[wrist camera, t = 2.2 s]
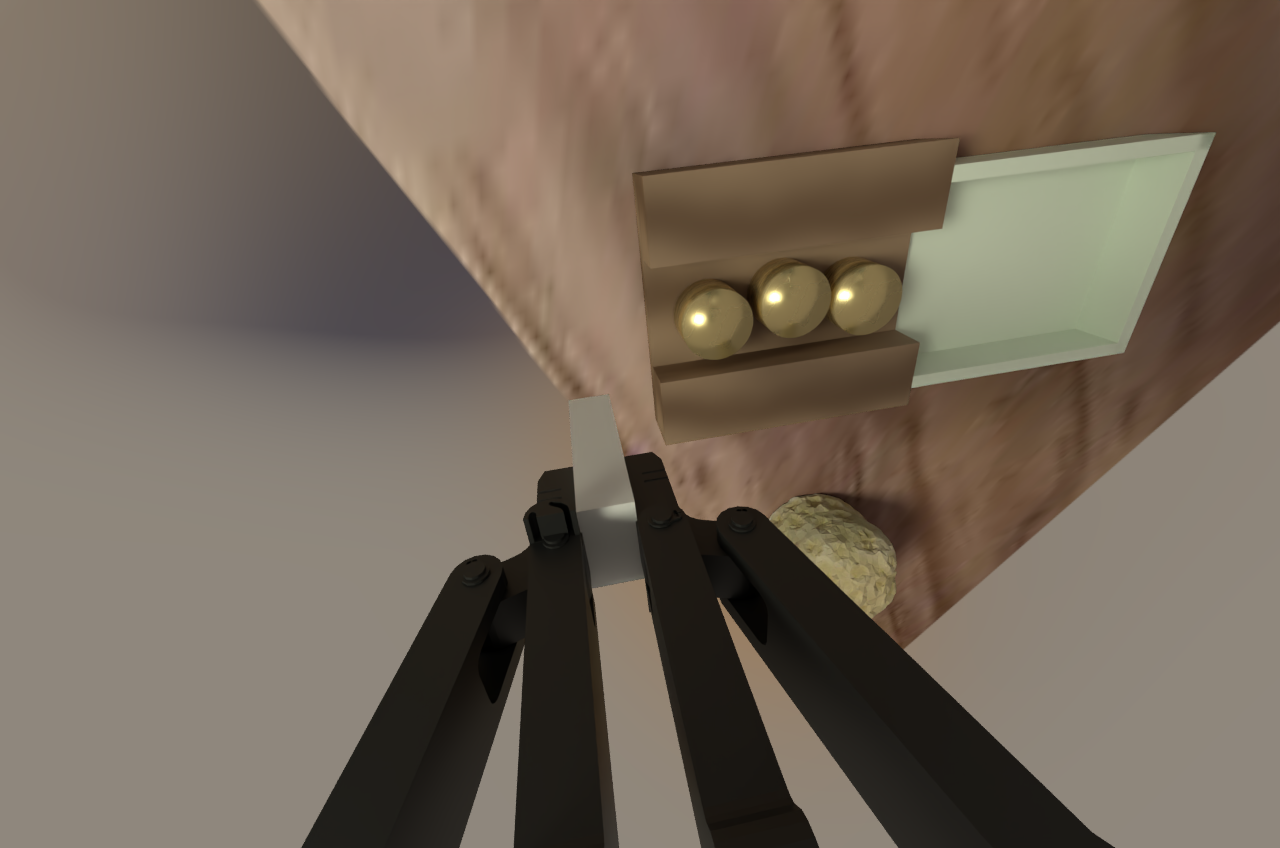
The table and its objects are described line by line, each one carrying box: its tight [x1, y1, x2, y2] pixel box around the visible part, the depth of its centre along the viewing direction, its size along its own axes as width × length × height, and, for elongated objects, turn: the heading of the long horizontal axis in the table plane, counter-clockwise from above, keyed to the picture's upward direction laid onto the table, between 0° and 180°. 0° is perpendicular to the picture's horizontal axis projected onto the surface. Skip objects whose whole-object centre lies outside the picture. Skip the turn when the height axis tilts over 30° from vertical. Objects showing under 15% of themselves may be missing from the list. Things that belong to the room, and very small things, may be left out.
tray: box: [895, 132, 1216, 388], centre depth 30 cm, size 13×15×4 cm
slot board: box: [632, 138, 960, 445], centre depth 29 cm, size 15×16×4 cm
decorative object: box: [769, 494, 897, 619], centre depth 39 cm, size 9×10×10 cm
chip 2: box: [747, 258, 831, 338], centre depth 28 cm, size 4×4×2 cm
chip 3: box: [824, 257, 902, 335], centre depth 29 cm, size 4×4×2 cm
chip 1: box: [674, 279, 753, 360], centre depth 28 cm, size 4×4×2 cm
